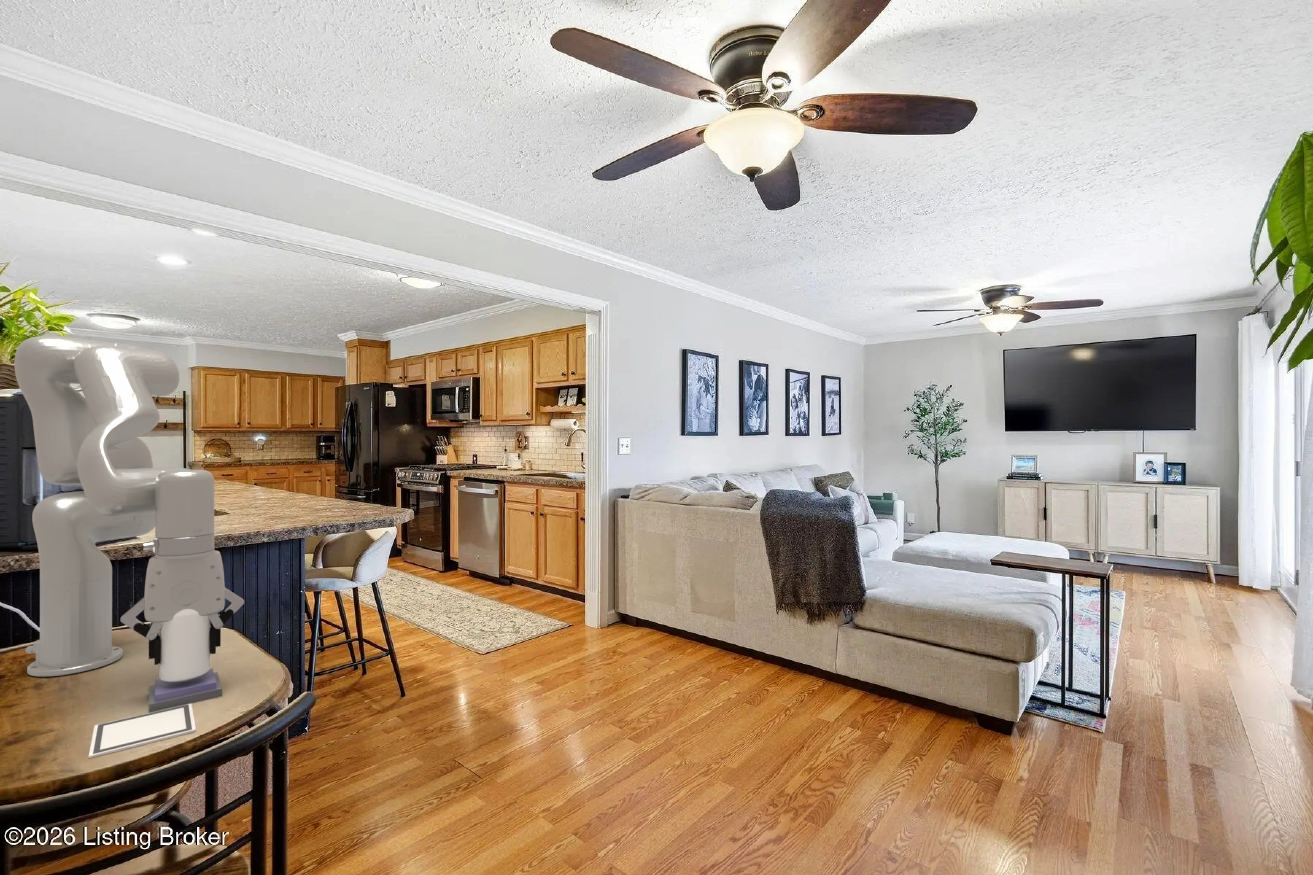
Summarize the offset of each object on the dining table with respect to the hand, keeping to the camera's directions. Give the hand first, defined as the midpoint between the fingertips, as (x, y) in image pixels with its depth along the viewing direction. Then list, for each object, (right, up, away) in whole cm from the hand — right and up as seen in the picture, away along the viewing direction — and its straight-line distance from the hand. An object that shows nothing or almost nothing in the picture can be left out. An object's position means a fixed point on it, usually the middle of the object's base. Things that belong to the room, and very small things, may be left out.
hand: (185, 655), depth 97 cm
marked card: (+3, -6, -12) cm, 14 cm away
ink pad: (0, -6, 0) cm, 6 cm away
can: (0, -3, 0) cm, 3 cm away
